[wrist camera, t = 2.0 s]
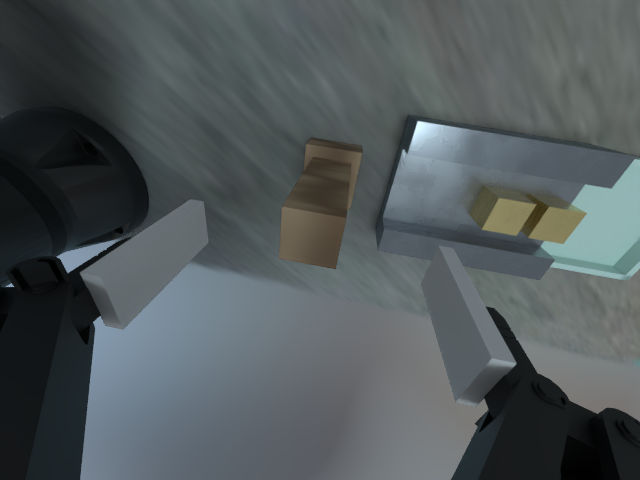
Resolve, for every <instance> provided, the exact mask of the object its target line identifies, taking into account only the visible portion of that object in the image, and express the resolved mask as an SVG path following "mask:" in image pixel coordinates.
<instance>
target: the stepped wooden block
mask: <svg viewBox="0 0 640 480" xmlns="http://www.w3.org/2000/svg"><path fill="white" fill-rule="evenodd" d="M361 157H362V146H359V145H353V144H347V143H341V142H335V141H329V140H323V139H317V138H311V139H310V140H309V141H308V142H307V143H306V151H305V161H304V171H303V174H302V175H301V177H300V179H299V180H298V182H297V183H296V185H295V186H294V188H293V190H292V191H291V193H290V194H289V196H288V198H287V199H286V201H285V202H284V204H283V206H282V214H281V232H280V249H279V259H284V260H289V261H295V262H300V263H305V264H311V265H316V266H321V267H327V268H332V269H336V265H337V260H338V255H339V250H340V246H341V241H342V236H343V231H344V227H345V222H346V216H347V209H349V210H350V208H351V203H352V199H353V194H354V189H355V185H356V180H357V176H358V171H359V166H360V162H361Z"/></svg>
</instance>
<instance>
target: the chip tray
mask: <svg viewBox="0 0 640 480" xmlns="http://www.w3.org/2000/svg"><path fill="white" fill-rule="evenodd" d="M572 205H574V206H576V207H577V208H579V209H581V210H583V211H584V212H586V213H587V214H586V216H585V217H584V218H583V219H582V221H581V222H580V223H579V225H578V226H577V227H576V228H575V230H574V231H573V232H572V234H571V235H570V236H569V238H568V239H567V240H566V241H565V243H564V244H560V243H554V242H549V241H544V242H543V244H542V245H541V247H542V248H543V249H544V250H545V251H546V252H547V253H548V254H550V255H551V256H552V257H553V258H554V259H555V261H554V262H553V264H552V265H551V266H550V267H554V268H560V269H565V270H571V271H576V272H582V273H587V274H593V275H598V276H604V277H610V278H615V279H621V280H626V281H627V280H628V279H629V278H630V277H631V276H632V275H633V274H634V273H636V272H637V271H638V270H639V269H640V157H636V158H635V160H634V161H633V162H632V163H631V165H630V166H629V167H628V168H627V170H626V171H625V172H624V174H623V175H622V176H621V177H620V179H619V180H618V181H617V182H616V184H615V185H614V186H613V187H612V189H610V188H604V187H598V186H592V185H586V184H585V186H584V187H583V188H582V190H581V191H580V193H579V194H578V195H577V197H576V198H575V200H574V201H573V202H572Z"/></svg>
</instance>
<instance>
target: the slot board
mask: <svg viewBox="0 0 640 480" xmlns="http://www.w3.org/2000/svg"><path fill="white" fill-rule="evenodd" d="M636 157H637V156H633V155H629V154H626V153H622V152H618V151H614V150H610V149H607V148H603V147H599V146H595V145H591V144H585V143H579V142H573V141H567V140H560V139H554V138H548V137H542V136H535V135H529V134H523V133H517V132H510V131H504V130H498V129H492V128H486V127H479V126H473V125H467V124H461V123H454V122H448V121H442V120H436V119H429V118H423V117H417V116H411V115H408V119H407V122H406V126H405V129H404V133H403V136H402V139H401V143H400V146H399V150H398V153H397V157H396V160H395V164H394V167H393V171H392V174H391V178H390V181H389V185H388V188H387V191H386V195H385V198H384V202H383V205H382V209H381V212H380V216H379V219H378V223H377V226H376V239H377V248H378V251H384V252H389V253H395V254H400V255H406V256H411V257H417V258H422V259H427V260H432V259H433V257H434V255H435V253H436V250H437V248H438V246H444V247H449V248H453V249H454V251H455V253H456V254H457V256H458V258H459V260H460V262H461V263H462V265H463V266H466V267H471V268H477V269H482V270H487V271H493V272H498V273H504V274H509V275H515V276H520V277H526V278H531V279H537V280H540V279H541V278H542V276H543V275H544V274H545V272H546V271H547V270H548V269H549V267H550V266H551V265H552V264H553V262H554V261H555V259H554V258H553V257H552V256H551V255H550V254H548V253H547V252H546V251H545V250H544V249H543V248H542V247H541V245H542V244H543V242H544V241H543V240H537V239H532V238H528V237H527V236H526V235H524V234H523V233H522V232H521V231H519V233H518V234H517V236H515V235H509V234H503V233H498V232H492V231H486V230H482V229H481V228H480V227H479V226H478V225H477V223H476V222H475V221H474V220H473V219H472V217H471V216H470V215H469V214H470V212H471V210H472V208H473V206H474V204H475V202H476V200H477V198H478V196H479V194H480V192H481V190H482V188H483V186H489V187H495V188H501V189H507V190H513V191H518V192H519V193H521V194H522V195H523V196H525V197H526V196H527V195H528V193H531V194H536V195H542V196H548V197H554V198H560V199H563V200H565V201H567V202H569V203H570V204H572V202H573V201H574V200H575V198H576V197H577V195H578V194H579V193H580V191H581V190H582V188H583V187H584V186H585V184H586V185H592V186H598V187H604V188H610V189H612V187H613V186H614V185H615V184H616V182H617V181H618V180H619V179H620V177H621V176H622V175H623V174H624V172H625V171H626V170H627V168H628V167H629V166H630V165H631V163H632V162H633V161H634V160H635V158H636Z"/></svg>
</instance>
